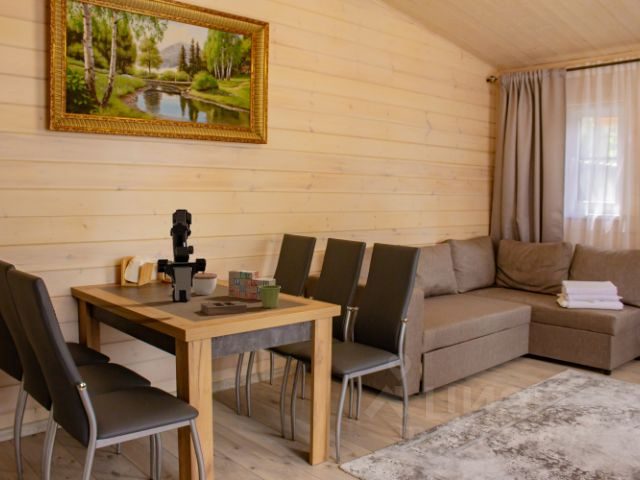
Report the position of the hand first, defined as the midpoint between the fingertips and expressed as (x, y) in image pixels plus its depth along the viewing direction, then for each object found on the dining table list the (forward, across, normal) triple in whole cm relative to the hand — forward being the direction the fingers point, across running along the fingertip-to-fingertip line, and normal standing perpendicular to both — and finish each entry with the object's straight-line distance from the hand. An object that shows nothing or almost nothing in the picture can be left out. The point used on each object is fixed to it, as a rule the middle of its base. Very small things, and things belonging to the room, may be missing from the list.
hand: (183, 283), depth 248 cm
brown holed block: (+5, +17, +14) cm, 22 cm away
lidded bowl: (-25, +14, +46) cm, 54 cm away
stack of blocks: (-14, +34, +35) cm, 51 cm away
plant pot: (+1, +37, +18) cm, 41 cm away
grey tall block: (+4, 0, +6) cm, 7 cm away
